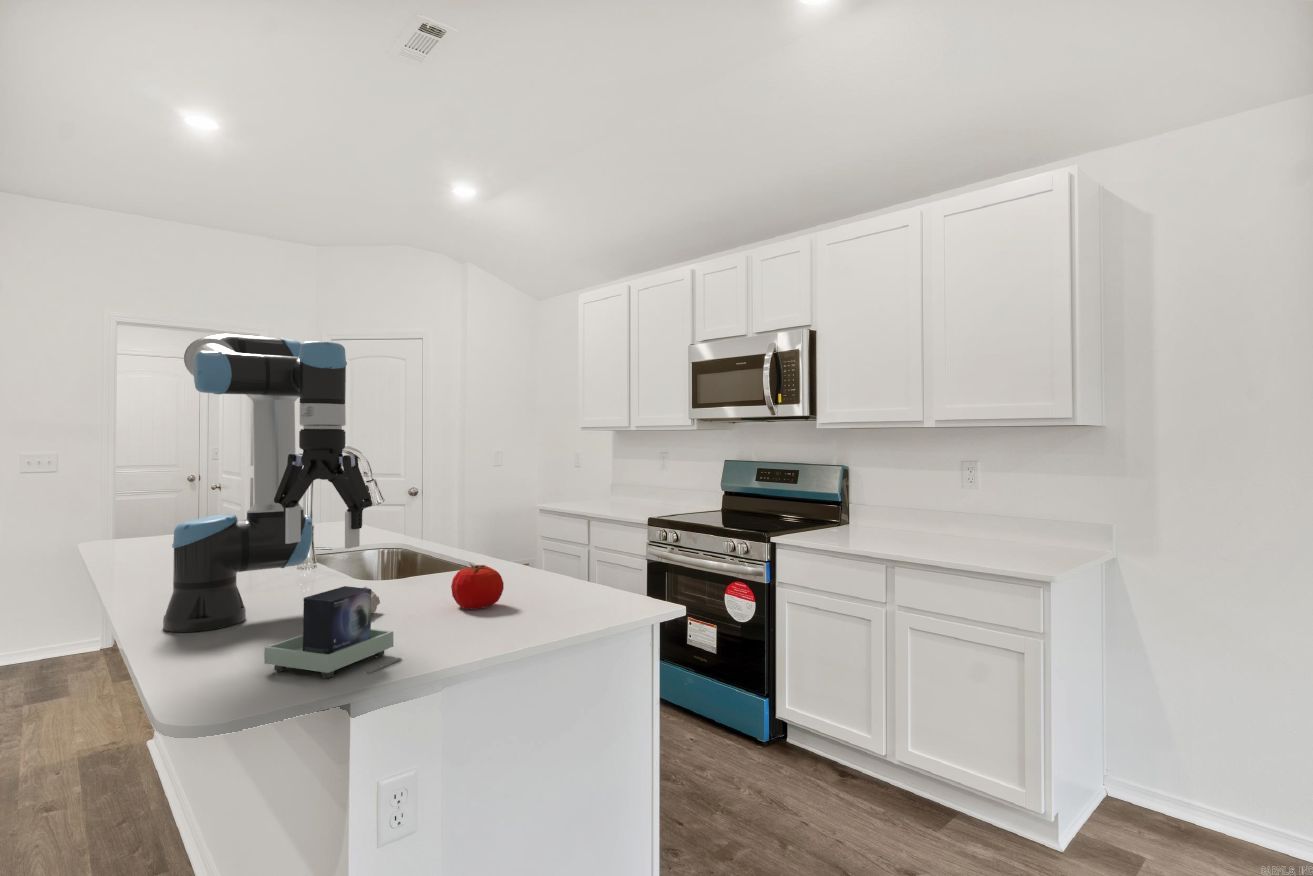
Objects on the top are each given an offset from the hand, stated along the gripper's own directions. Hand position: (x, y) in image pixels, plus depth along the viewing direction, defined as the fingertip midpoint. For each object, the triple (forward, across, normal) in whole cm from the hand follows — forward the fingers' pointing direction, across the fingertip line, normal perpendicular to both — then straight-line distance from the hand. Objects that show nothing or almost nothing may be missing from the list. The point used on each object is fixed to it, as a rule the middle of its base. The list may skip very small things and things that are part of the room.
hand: (322, 545), depth 124 cm
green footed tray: (+21, +3, 0) cm, 21 cm away
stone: (+22, -17, +26) cm, 38 cm away
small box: (+19, +4, 0) cm, 19 cm away
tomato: (+22, +4, +44) cm, 49 cm away
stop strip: (+21, +13, +2) cm, 25 cm away
